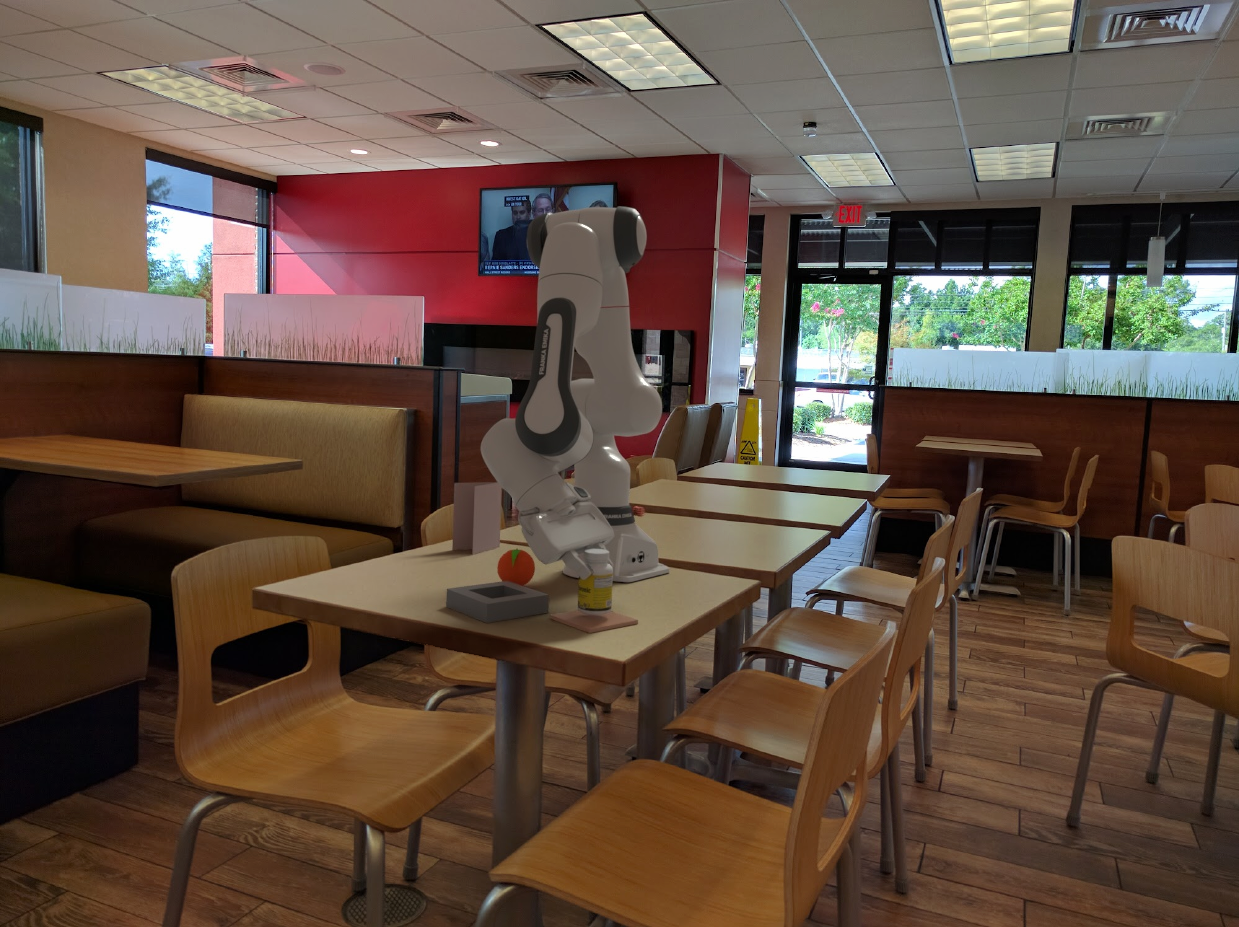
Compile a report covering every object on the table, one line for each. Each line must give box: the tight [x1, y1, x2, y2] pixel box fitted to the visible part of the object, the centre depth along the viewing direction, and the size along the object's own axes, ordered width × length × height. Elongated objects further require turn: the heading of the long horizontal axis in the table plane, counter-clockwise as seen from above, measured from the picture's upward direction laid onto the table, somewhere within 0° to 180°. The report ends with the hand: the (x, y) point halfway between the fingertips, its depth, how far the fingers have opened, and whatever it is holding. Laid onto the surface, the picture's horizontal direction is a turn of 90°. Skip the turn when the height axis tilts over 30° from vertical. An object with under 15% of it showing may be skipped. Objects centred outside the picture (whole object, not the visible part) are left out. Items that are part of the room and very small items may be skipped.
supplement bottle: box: [577, 549, 613, 615], centre depth 139 cm, size 5×5×10 cm
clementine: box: [496, 548, 536, 586], centre depth 160 cm, size 8×7×7 cm
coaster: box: [549, 609, 639, 634], centre depth 139 cm, size 10×10×1 cm
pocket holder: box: [445, 580, 550, 624], centre depth 143 cm, size 12×12×3 cm
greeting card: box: [451, 481, 503, 556], centre depth 194 cm, size 11×7×15 cm, turn 122°
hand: (599, 573), depth 138 cm, fingers closed on supplement bottle, 5 cm apart
